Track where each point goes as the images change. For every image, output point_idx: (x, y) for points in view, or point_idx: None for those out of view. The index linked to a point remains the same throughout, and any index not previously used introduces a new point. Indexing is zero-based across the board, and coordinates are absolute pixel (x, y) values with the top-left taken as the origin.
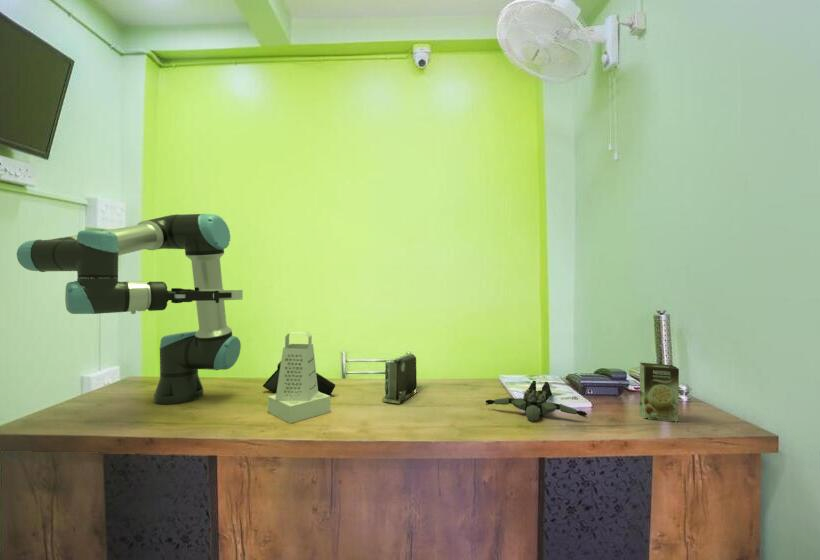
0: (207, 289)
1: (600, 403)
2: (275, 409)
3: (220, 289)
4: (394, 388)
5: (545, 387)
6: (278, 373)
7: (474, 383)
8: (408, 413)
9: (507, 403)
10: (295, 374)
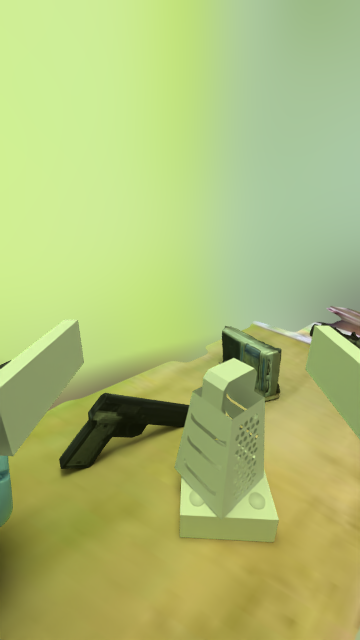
0: (27, 362)
1: (355, 331)
2: (213, 530)
3: (71, 327)
4: (276, 383)
5: (338, 330)
6: (95, 433)
7: (254, 336)
8: (314, 409)
9: None
10: (249, 453)
